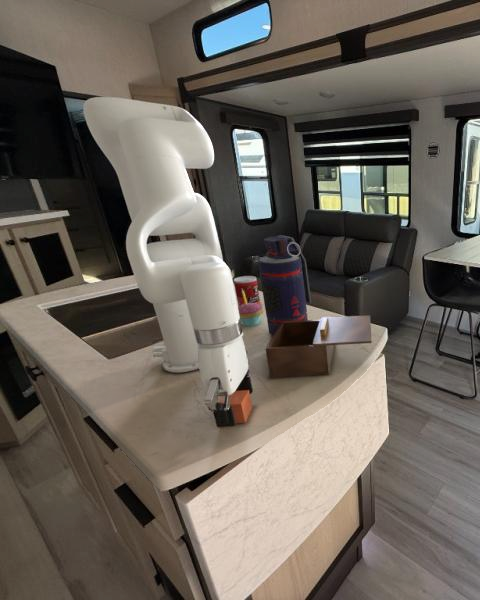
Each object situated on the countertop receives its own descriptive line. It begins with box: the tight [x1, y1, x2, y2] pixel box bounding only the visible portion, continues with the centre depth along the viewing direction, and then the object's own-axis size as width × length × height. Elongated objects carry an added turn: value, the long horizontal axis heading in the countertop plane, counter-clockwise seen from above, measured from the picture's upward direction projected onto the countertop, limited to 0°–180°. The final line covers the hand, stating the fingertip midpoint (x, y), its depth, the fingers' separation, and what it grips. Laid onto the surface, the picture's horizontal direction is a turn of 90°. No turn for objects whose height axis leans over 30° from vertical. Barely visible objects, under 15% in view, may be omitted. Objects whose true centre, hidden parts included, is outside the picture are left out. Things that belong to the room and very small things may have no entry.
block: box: [219, 390, 253, 424], centre depth 64 cm, size 4×4×4 cm
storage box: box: [265, 319, 335, 379], centre depth 84 cm, size 14×16×8 cm
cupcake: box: [238, 289, 264, 327], centre depth 105 cm, size 9×8×12 cm
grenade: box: [257, 235, 312, 337], centre depth 96 cm, size 14×12×30 cm
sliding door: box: [312, 314, 373, 346], centre depth 83 cm, size 14×16×2 cm
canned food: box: [233, 275, 261, 307], centre depth 120 cm, size 8×8×11 cm
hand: (236, 408), depth 64 cm, fingers open, 9 cm apart
